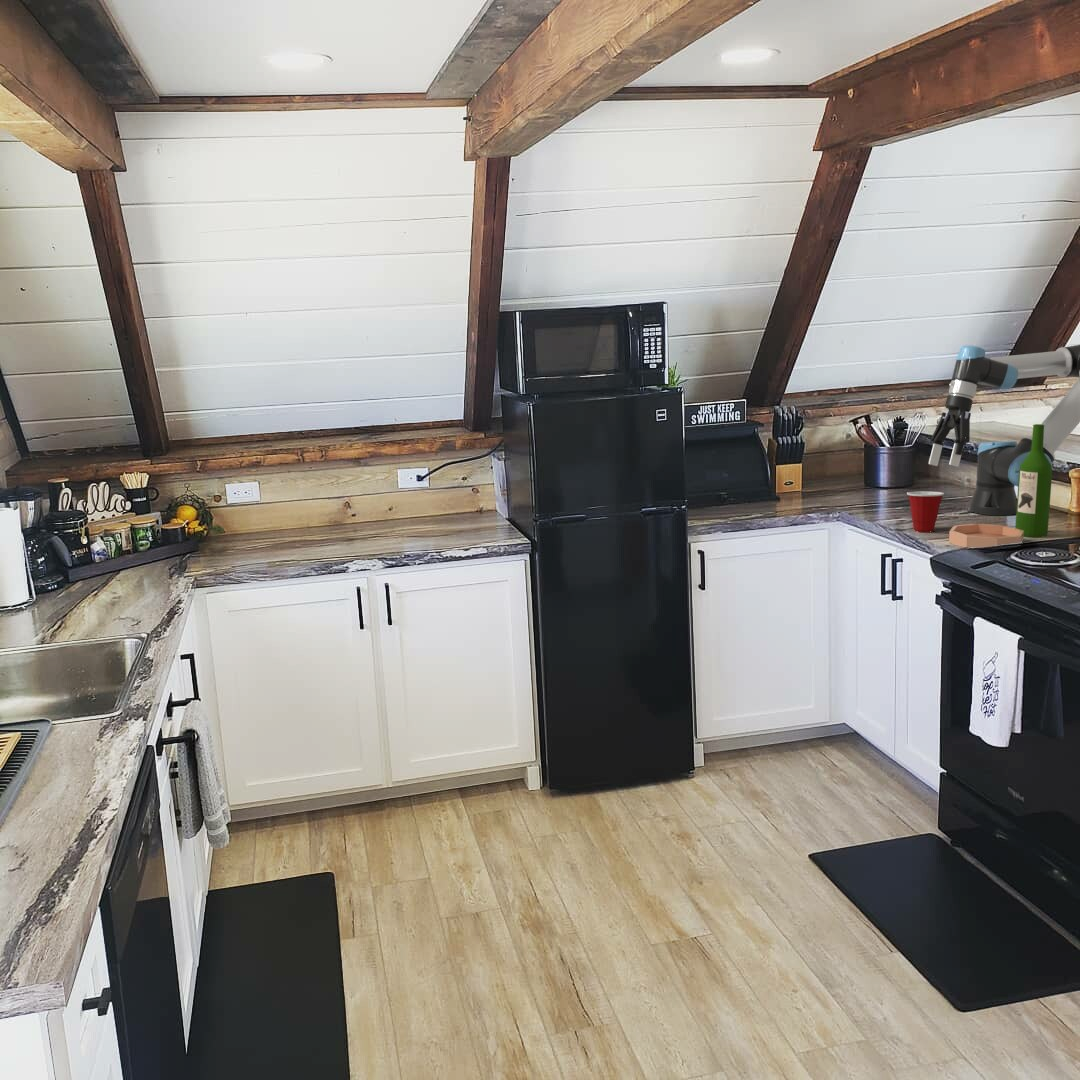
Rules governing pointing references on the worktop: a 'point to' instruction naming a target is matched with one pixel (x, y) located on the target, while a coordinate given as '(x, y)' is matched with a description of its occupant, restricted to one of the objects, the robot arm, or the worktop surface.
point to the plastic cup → (924, 509)
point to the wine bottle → (1034, 489)
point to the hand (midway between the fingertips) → (943, 465)
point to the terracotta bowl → (984, 535)
